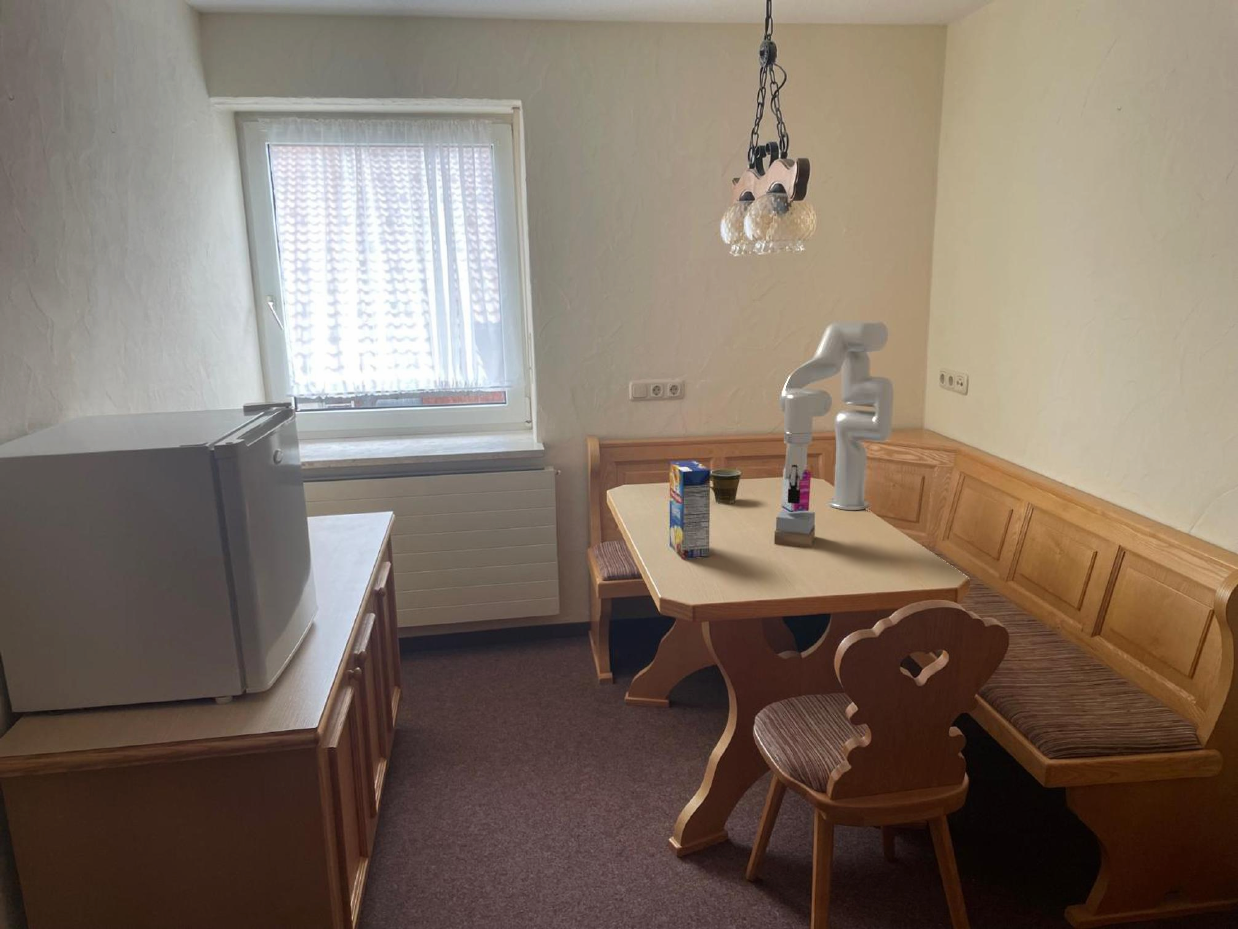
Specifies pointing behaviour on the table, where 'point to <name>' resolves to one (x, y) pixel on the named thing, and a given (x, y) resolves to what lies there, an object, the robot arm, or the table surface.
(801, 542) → the tower base slab
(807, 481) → the supplement box
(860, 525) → the table surface
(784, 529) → the tower top slab
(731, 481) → the ceramic cup
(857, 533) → the table surface
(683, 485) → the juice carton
